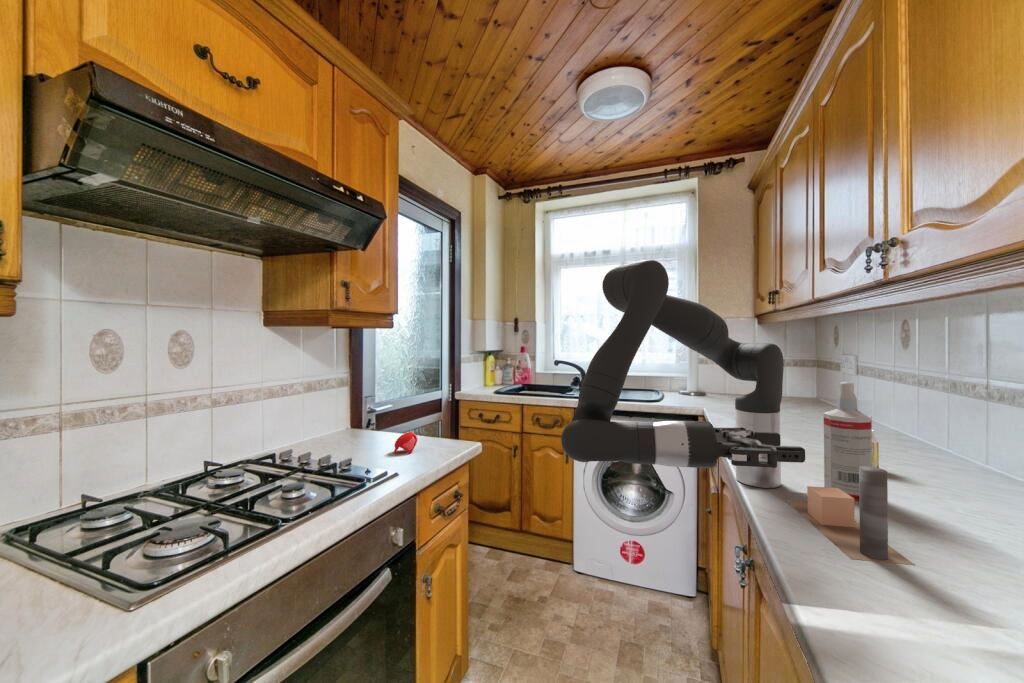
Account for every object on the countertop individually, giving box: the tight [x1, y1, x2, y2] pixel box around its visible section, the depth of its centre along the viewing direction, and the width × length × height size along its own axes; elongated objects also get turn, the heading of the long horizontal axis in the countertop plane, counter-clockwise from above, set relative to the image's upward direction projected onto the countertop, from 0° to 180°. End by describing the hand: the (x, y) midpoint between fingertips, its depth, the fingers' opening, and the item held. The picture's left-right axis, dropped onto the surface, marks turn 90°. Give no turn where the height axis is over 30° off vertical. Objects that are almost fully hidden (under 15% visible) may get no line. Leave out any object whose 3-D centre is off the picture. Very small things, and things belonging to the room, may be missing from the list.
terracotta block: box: [806, 485, 856, 527], centre depth 73 cm, size 5×5×5 cm
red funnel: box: [393, 431, 418, 454], centre depth 127 cm, size 8×6×6 cm
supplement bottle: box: [872, 429, 880, 468], centre depth 104 cm, size 6×6×10 cm
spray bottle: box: [823, 381, 873, 502], centre depth 84 cm, size 8×8×25 cm
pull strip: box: [785, 466, 915, 566], centre depth 70 cm, size 22×8×14 cm, turn 167°
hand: (791, 446), depth 64 cm, fingers open, 8 cm apart
